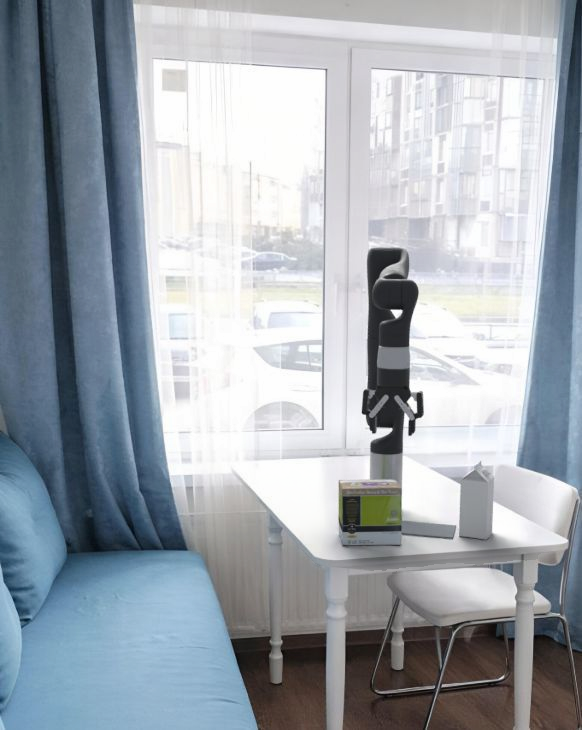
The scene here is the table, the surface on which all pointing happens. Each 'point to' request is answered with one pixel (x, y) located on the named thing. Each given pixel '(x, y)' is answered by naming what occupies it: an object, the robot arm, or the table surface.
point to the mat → (428, 529)
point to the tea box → (370, 512)
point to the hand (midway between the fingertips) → (392, 434)
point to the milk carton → (476, 503)
